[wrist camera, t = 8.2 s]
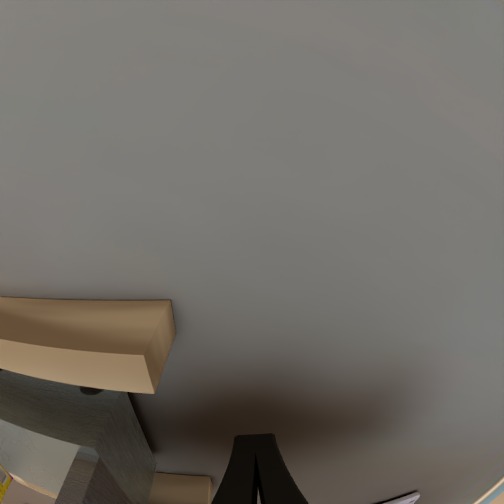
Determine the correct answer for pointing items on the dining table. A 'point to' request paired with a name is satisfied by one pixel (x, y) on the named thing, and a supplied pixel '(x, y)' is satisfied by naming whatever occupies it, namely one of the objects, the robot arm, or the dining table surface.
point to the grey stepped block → (74, 441)
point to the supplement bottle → (4, 481)
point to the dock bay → (97, 359)
